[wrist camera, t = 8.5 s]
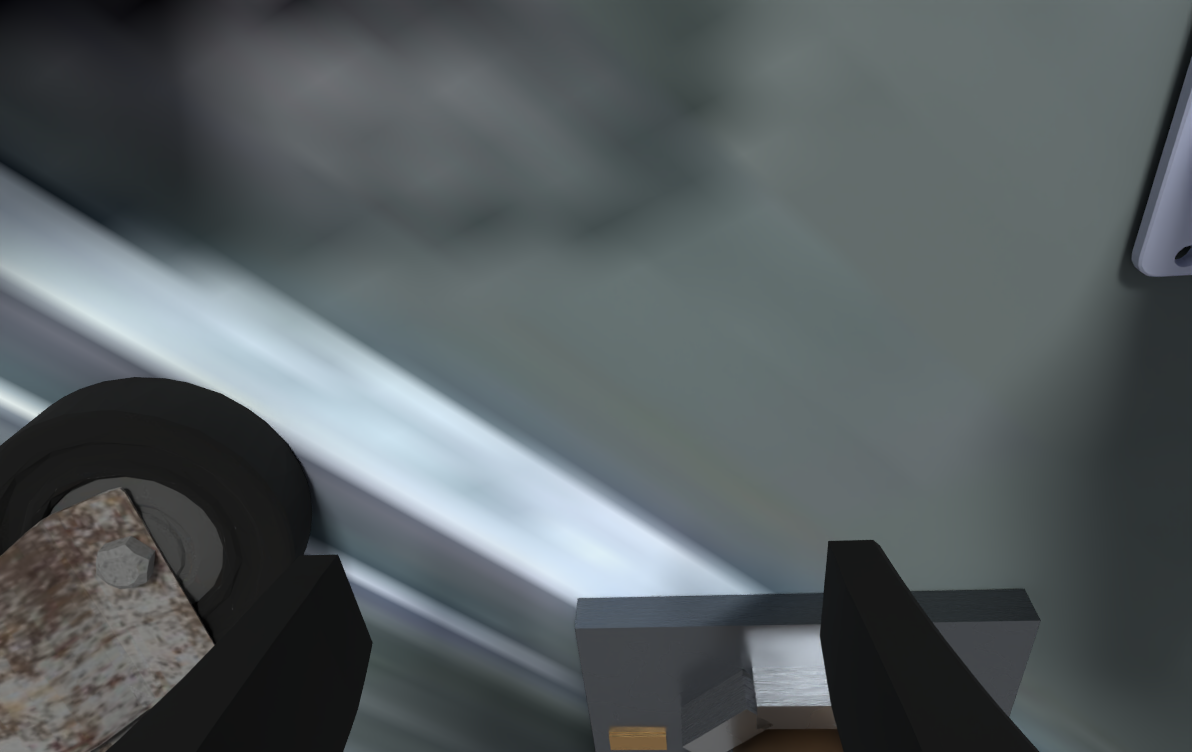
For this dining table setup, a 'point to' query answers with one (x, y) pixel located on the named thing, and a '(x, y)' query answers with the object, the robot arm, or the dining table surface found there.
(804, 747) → the knob
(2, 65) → the dining table surface
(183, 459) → the caster wheel
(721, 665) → the hub plate
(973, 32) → the dining table surface
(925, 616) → the robot arm
